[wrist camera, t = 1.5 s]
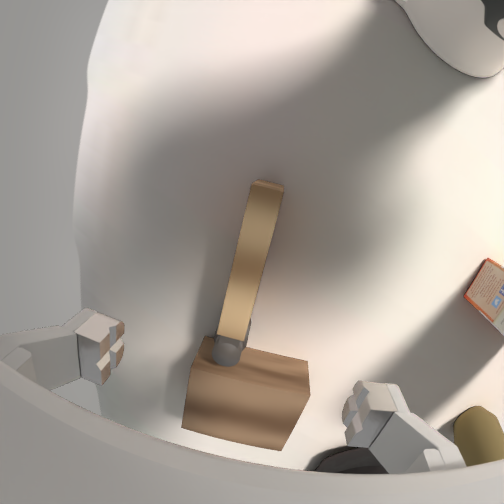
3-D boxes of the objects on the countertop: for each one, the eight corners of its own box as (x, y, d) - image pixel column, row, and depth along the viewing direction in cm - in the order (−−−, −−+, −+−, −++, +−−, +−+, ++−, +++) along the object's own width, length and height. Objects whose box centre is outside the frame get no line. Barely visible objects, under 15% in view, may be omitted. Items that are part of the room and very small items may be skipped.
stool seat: (211, 300, 33) (197, 329, 27) (320, 328, 32) (326, 360, 27) (193, 395, 37) (181, 427, 31) (282, 417, 37) (281, 451, 31)
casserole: (297, 444, 38) (297, 489, 30) (418, 426, 36) (433, 467, 28) (299, 510, 45) (298, 542, 37) (389, 498, 43) (395, 529, 35)
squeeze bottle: (441, 422, 36) (477, 511, 18) (483, 391, 33) (531, 473, 16) (453, 440, 37) (485, 518, 20) (491, 413, 35) (532, 486, 17)
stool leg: (244, 336, 33) (236, 369, 27) (221, 329, 33) (209, 362, 27) (284, 185, 28) (285, 192, 22) (257, 178, 28) (250, 183, 22)
